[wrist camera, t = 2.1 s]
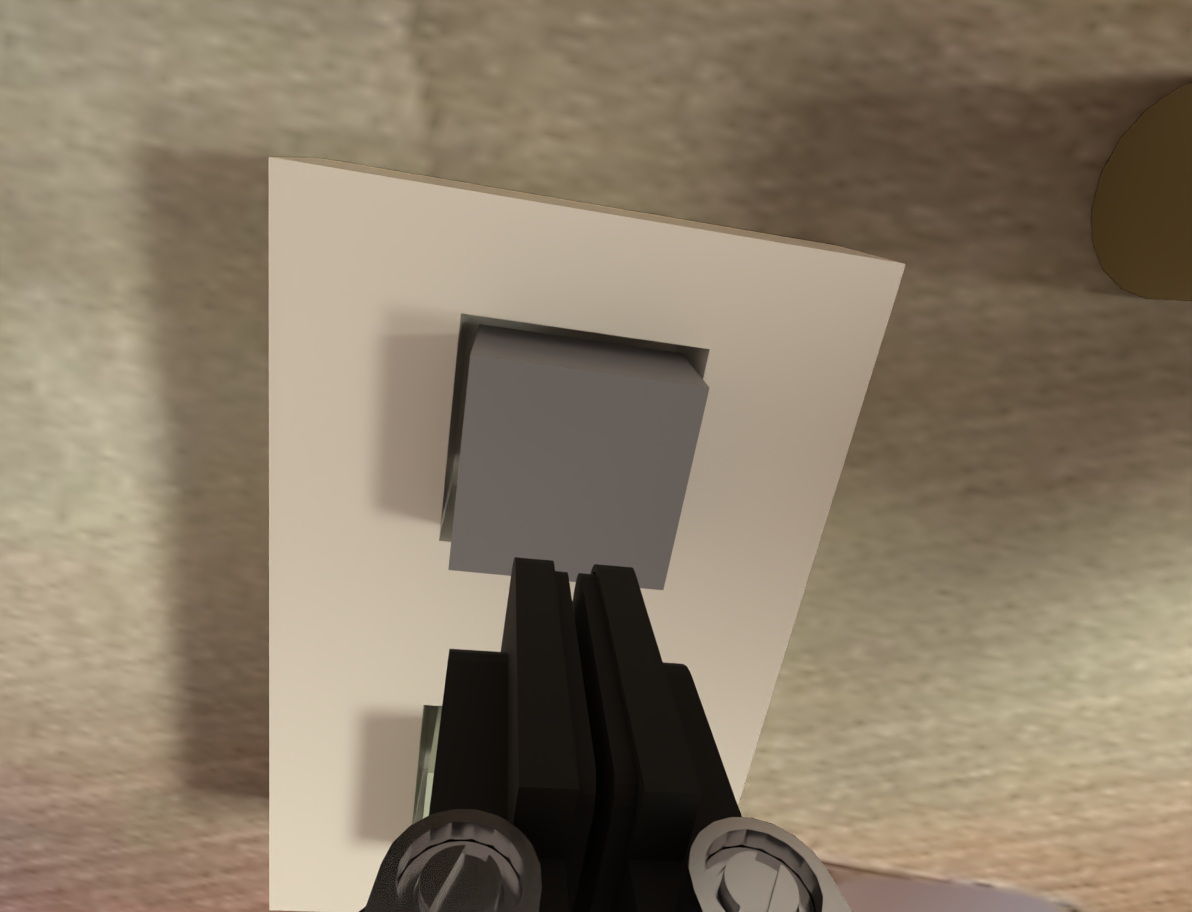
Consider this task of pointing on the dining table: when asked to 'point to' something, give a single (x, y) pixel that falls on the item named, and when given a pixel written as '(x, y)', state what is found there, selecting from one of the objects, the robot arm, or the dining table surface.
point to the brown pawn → (1149, 203)
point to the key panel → (432, 452)
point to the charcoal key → (573, 454)
